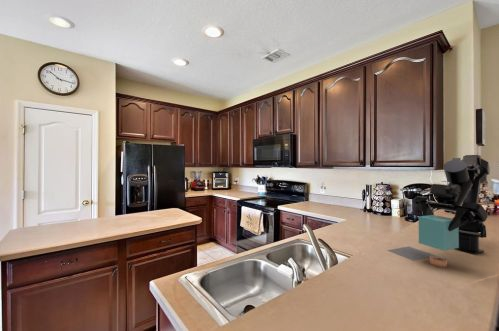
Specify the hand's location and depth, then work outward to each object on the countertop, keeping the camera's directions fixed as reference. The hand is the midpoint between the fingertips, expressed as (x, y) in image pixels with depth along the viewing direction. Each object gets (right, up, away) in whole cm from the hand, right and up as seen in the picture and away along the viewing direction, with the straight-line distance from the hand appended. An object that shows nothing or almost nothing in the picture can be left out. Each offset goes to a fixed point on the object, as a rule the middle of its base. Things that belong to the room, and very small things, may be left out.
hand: (435, 226), depth 74 cm
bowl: (+1, -13, 0) cm, 13 cm away
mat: (-1, -13, +10) cm, 16 cm away
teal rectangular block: (+1, -6, 0) cm, 6 cm away
